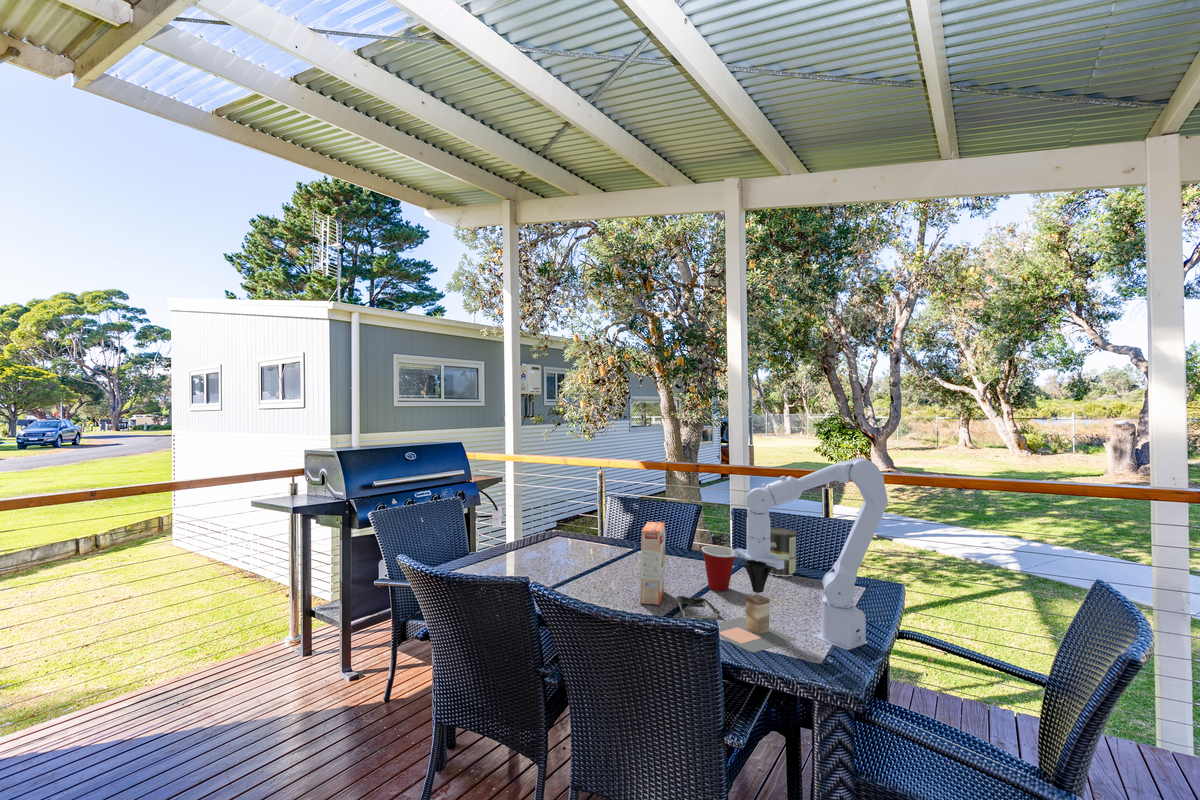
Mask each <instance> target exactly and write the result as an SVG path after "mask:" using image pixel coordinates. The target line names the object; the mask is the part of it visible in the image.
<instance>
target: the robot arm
mask: <svg viewBox="0 0 1200 800" xmlns="http://www.w3.org/2000/svg"><path fill="white" fill-rule="evenodd" d="M850 480H851V481H852V483H853V484H854V485H856V487H857V488H858V492H859V493H860V495H861V497H862V499H863V502H862V504H861V507H860V509H859V510H858V511H859V512H858V514H857V516H856V518H855V520H854V522H853V524H852V526H851V529H850V532H849V534H848V536H847V538H846V540H845V542H844V545H843V548H842V549H841V552H840V554H839V557H838V558H837V560H835V562H834V564H833V565H832V567H831V569H830V570H829V571H827V572H826V573H825V574H824V575H823V577H822V581H821V582H822V587H823V589H824V596H823V597H821V632H820V633H817V634H815V635H813V638H814V639H817V640H820V641H823V642H825V643H828V644H830V645H833V646H835V647H838V648H840V649H843V650H846V651H849V650H852V649H854V648H859V647H861V646H863V645H866V644H868V641H867V640H866V638H867V636H866V635H867V634H866V632H867V631H866V630H867V629H866V628H867V626H866V622H867V621H866V615H865V612H864V611H863V610H861V609H859V608H858V607H856V605H854V604H855V603H854V597H855V593H854V588H855V584H856V583H857V582H856V581H857V576H858V570H859V568H860V566H861V565H862V562H863V560H864V557H865V555H866V552H867V550H868V549H869V546H870V544H871V542H872V540H873V537H874V535H875V533H876V531H877V529H878V526H879V524H880V522H881V519H882V517H883V516H884V513H885V511H886V509H887V507H888V502H889V499H888V495H887V489H886V486H885V478H884V474H882V471H880V469H879V467H878V466H877V465H876V464H875V463H874V462H872V461H871V460H869V459H868V458H865V457H861V456H860V457H855V458H852V459H851V460H842V461H840V462H836V463H834V464H831V465H828V466H826V467H824V468H821V469H819V470H816V471H813V472H811V473H809V474H807V475H804V476H801V477H799V478H796V477H793V476H792V475H789V476H785V475H782V476H780V477H779V479H778V480H775V481H772V482H769V483H767V484H766V483H762V484H761V487H754V488H752V489H750V490H749V492H748V493H747V496H746V500H745V501H746V502H745V503H746V505H747V511H746V515H747V517H746V549H744V548H740V547H739V548H734V549H733V550H734V557H735V558H741V559H744V560H747V561H745V562H743V567H744V568H745V570H746V572H747V575H748V577H749V580H750V584H751V588H752V592H754V593H757V594H760V593H764V589H765V586H766V583H767V579H768V578H769V576H770V575H769V573H770V571H771V570H772V568H773V567H775V568H776V569H784V560H781V559H779V558H777V557H774V556H772V555H770V528H771V518H770V509H771V507H775V508H776V507H779V506H782V505H784V504H786V503H790V502H793V501H796V500H798V499H800V498H801V496H802V493H803V492H804V491H807V490H810V489H814V488H815V487H816V488H817V487H819V486H823V485H826V484H828V483H832V482H835V481H836V482H841V483H845V484H849V483H850Z"/></svg>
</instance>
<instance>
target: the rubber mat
mask: <svg viewBox="0 0 1200 800" xmlns="http://www.w3.org/2000/svg"><path fill="white" fill-rule="evenodd" d="M718 623H719V625H720V637H721V638H720V639H722V640H724V641H727V643H731V644H733V645H735V646H737V647H739V648H741V649H743V650H746V651H748V652H749V653H759V652H761V651H763V650H766V649H767V650H768V649H769V648H770V649H771V648H773V647H776V646H779V645H783V644H786V643H789V642H793V641H796V640H797V638H795V637H793V636H791V635H788V634H785V633H783V632H780V631H777V630H775V629H773V628H770V627H769V631H768V632H765V633H761V634H756V633H753V632H751V631H749V630H746V617H743V616H739V617H738V616H737V617H735V618H731V619H727V620H724V621H720V622H718Z"/></svg>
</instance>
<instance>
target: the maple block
mask: <svg viewBox="0 0 1200 800" xmlns="http://www.w3.org/2000/svg"><path fill="white" fill-rule="evenodd" d="M745 618H746V630H749V631H751V632H753V633H756V634H761V633H765V632H768V631H769V628H770V598H768V597H766V596H764V595H763V596H762V595H759V594H758V593H757V594H753V595H750V596H746V597H745Z"/></svg>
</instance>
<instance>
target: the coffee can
mask: <svg viewBox="0 0 1200 800" xmlns="http://www.w3.org/2000/svg"><path fill="white" fill-rule="evenodd" d="M770 555H772V556H774V557H777V558H779V559H781V560H784V569H776V568H775V567H773V568H772V570H771V571H770V573H769V574H771V575H770V576H772V575H778V576H788V575H792V574H793V573H795V571H796V569H797V566H796V565H797V562H796V561H797V557H796V556H797V531H796V530H793V529H790V528H785V527H783V528H782V527H770ZM796 572H797V571H796Z"/></svg>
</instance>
